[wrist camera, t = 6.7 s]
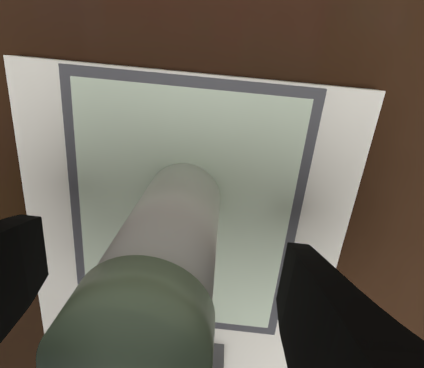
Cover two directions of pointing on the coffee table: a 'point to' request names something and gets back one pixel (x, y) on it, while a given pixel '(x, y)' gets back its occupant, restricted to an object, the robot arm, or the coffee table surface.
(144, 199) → the marker
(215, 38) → the coffee table surface
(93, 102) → the activity board
